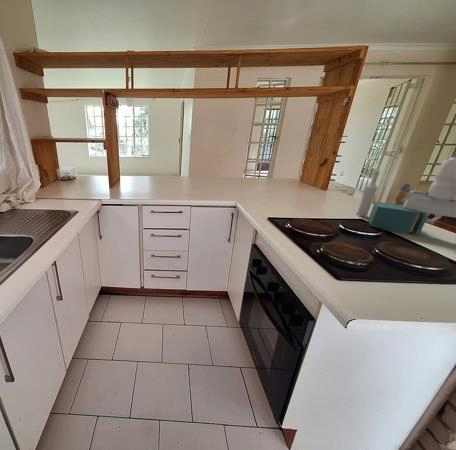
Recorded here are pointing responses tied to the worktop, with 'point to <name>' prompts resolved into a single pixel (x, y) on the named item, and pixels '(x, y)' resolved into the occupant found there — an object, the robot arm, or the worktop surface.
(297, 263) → the worktop surface
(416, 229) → the drawer
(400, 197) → the pepper mill
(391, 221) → the cabinet
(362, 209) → the bottle
